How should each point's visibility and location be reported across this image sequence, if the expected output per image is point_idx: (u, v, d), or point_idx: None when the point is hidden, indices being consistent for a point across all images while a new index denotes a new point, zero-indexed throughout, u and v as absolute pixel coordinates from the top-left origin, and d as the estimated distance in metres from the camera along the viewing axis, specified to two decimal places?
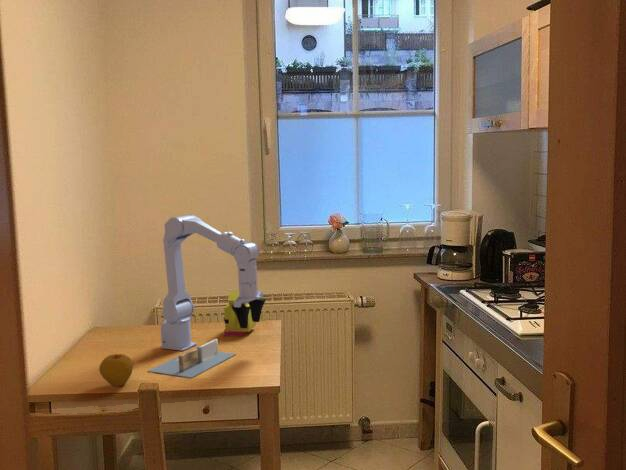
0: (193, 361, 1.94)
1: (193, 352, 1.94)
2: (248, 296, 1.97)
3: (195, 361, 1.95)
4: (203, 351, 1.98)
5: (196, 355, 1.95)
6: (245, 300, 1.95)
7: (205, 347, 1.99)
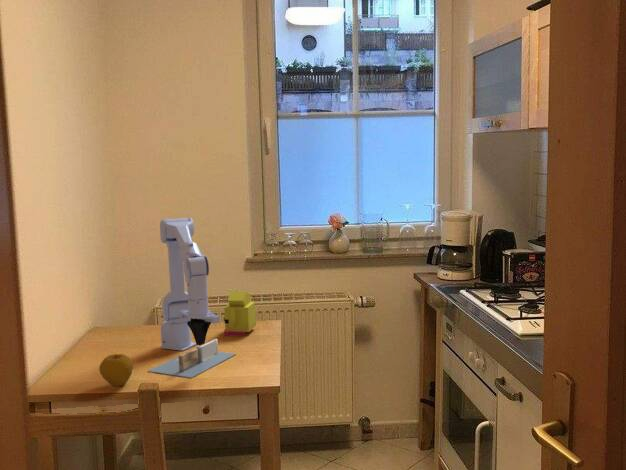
0: (193, 361, 1.94)
1: (193, 352, 1.94)
2: (208, 311, 1.86)
3: (195, 361, 1.95)
4: (203, 351, 1.98)
5: (196, 355, 1.95)
6: None
7: (205, 347, 1.99)
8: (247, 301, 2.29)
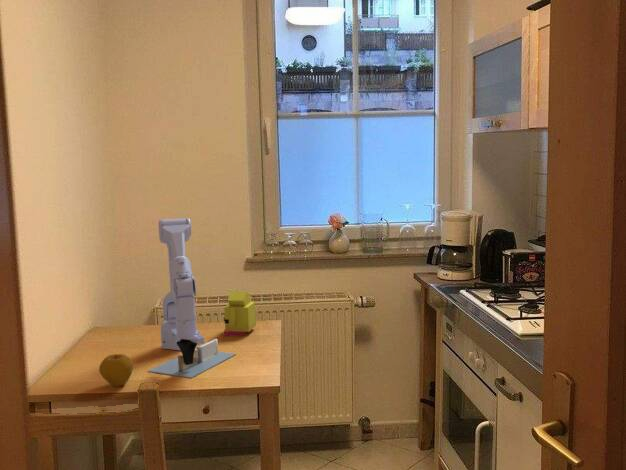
0: None
1: None
2: (195, 332, 1.88)
3: (195, 361, 1.95)
4: (203, 351, 1.98)
5: (196, 355, 1.95)
6: None
7: (205, 347, 1.99)
8: (247, 301, 2.29)
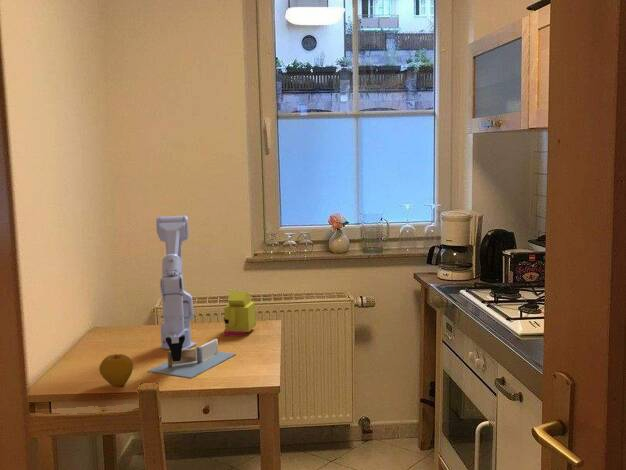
0: (187, 360, 1.95)
1: (188, 351, 1.95)
2: (179, 330, 1.90)
3: (191, 360, 1.96)
4: (203, 351, 1.98)
5: (193, 354, 1.96)
6: (180, 335, 1.88)
7: (205, 347, 1.99)
8: (247, 301, 2.29)
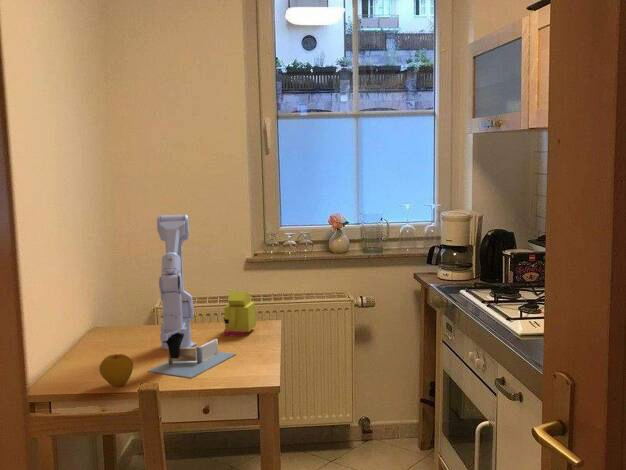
0: (187, 358, 1.97)
1: (187, 349, 1.96)
2: (174, 328, 1.92)
3: (190, 359, 1.97)
4: (203, 351, 1.98)
5: (192, 354, 1.97)
6: (171, 333, 1.90)
7: (205, 347, 1.99)
8: (247, 301, 2.29)
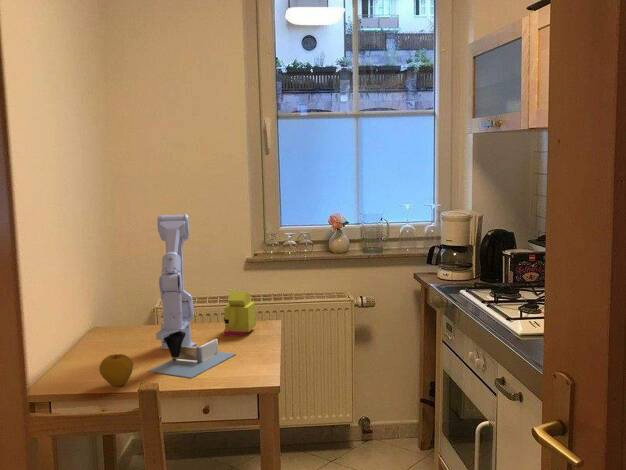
0: (188, 357, 1.98)
1: (188, 348, 1.97)
2: (172, 328, 1.93)
3: (191, 358, 1.98)
4: (203, 351, 1.98)
5: (193, 353, 1.97)
6: (168, 332, 1.92)
7: (205, 347, 1.99)
8: (247, 301, 2.29)
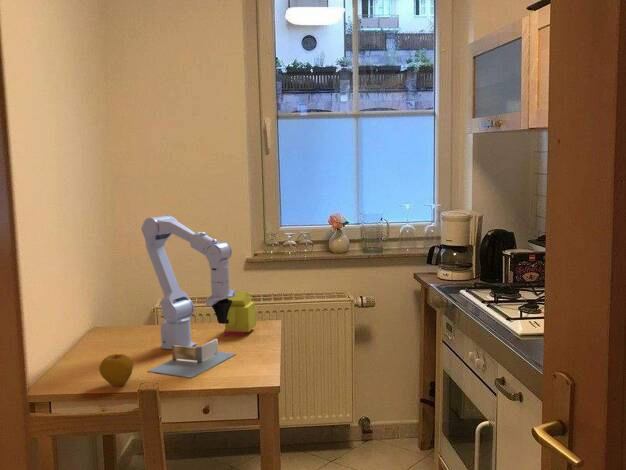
0: (188, 357, 1.98)
1: (188, 348, 1.97)
2: (220, 295, 2.01)
3: (191, 358, 1.98)
4: (203, 351, 1.98)
5: (193, 353, 1.97)
6: (217, 299, 1.99)
7: (205, 347, 1.99)
8: (247, 301, 2.29)
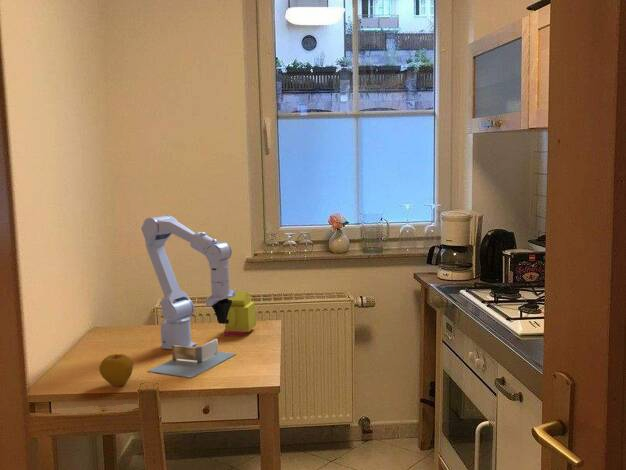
0: (188, 357, 1.98)
1: (188, 348, 1.97)
2: (220, 295, 2.01)
3: (191, 358, 1.98)
4: (203, 351, 1.98)
5: (193, 353, 1.97)
6: (217, 299, 1.99)
7: (205, 347, 1.99)
8: (247, 301, 2.29)
